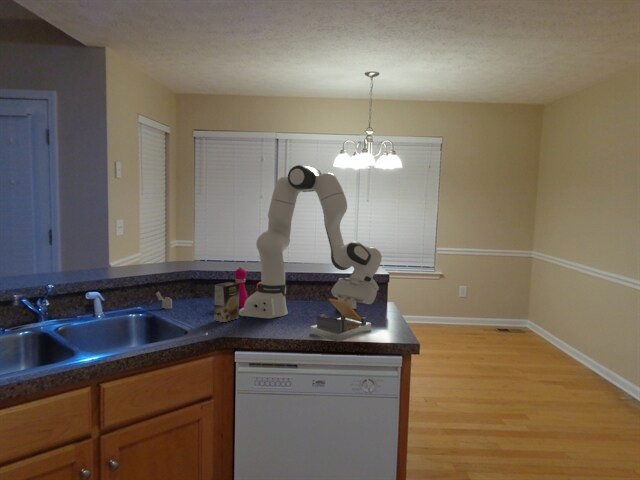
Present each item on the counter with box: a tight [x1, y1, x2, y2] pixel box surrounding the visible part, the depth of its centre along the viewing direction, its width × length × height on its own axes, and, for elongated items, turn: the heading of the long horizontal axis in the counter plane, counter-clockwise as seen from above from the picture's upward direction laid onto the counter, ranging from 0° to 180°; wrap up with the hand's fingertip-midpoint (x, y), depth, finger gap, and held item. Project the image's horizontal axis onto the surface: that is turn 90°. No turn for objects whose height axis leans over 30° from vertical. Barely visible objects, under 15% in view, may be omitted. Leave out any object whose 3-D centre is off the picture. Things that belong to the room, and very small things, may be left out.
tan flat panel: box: [328, 297, 362, 322], centre depth 181 cm, size 15×9×1 cm
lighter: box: [155, 291, 173, 310], centre depth 207 cm, size 7×2×8 cm, turn 95°
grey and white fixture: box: [309, 313, 372, 343], centre depth 179 cm, size 22×14×7 cm, turn 138°
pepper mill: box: [234, 265, 249, 308], centre depth 216 cm, size 7×7×20 cm
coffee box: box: [213, 281, 240, 323], centre depth 191 cm, size 9×6×16 cm
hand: (345, 307), depth 180 cm, fingers closed, pressing on tan flat panel
